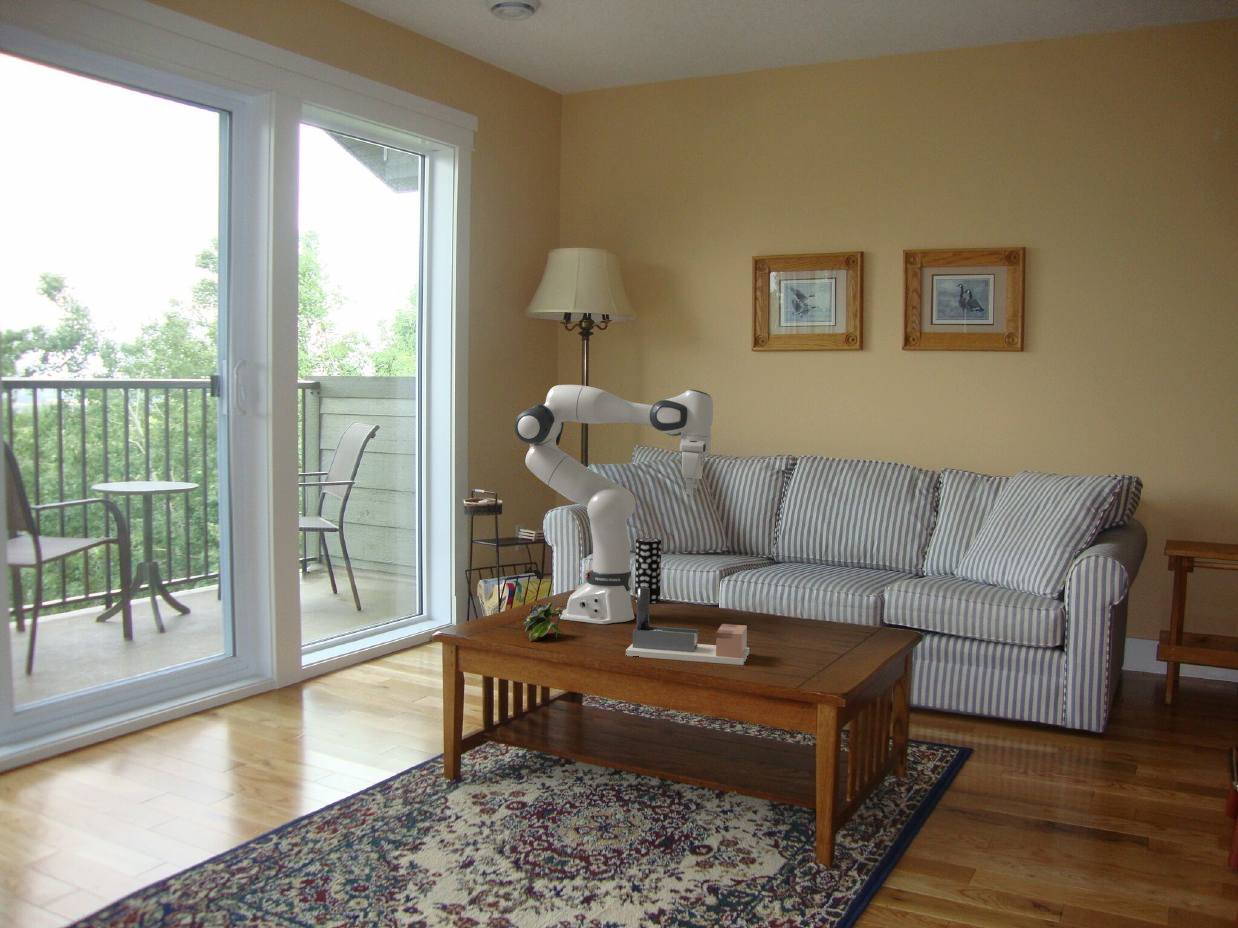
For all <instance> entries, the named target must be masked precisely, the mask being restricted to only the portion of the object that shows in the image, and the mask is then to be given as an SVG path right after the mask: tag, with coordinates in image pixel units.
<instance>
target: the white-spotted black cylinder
mask: <svg viewBox="0 0 1238 928" xmlns="http://www.w3.org/2000/svg"><path fill="white" fill-rule="evenodd" d="M634 557H635V559H634V560H635V563H634V565H635V566H634V568H635V570H634V571H635V572H634V602H635V601H636V602H635V603H637V588H639V587H647V588H650V593H649V603H654V604H658V603H661V592H662V591H661V590H662V589H661V587H662V586H661V580H662V579H661V578H662V577H661V576H662V575H661V574H662V539H659V538H654V537H653V538H652V537H651V538H647V537H646V538H645V537H644V538H643V537H642V538H641V537H640V538H636V539H635V556H634Z"/></svg>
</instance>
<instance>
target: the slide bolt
mask: <svg viewBox="0 0 1238 928" xmlns="http://www.w3.org/2000/svg"><path fill="white" fill-rule="evenodd" d="M649 593H650V588H647V587H639V588H637V602H636V629H638V630H649V626H650V604H649ZM652 631H658V630H652ZM666 632H672V631H666ZM680 633H686V632H680ZM694 634H695V643H694V646H696V643H697V633H694Z"/></svg>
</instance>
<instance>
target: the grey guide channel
mask: <svg viewBox="0 0 1238 928" xmlns="http://www.w3.org/2000/svg"><path fill="white" fill-rule="evenodd" d="M652 630H658V631H652ZM666 631H672V632H666ZM680 632H686V633H680ZM694 633H697V643H696V646H694V643H695V634H694ZM698 639H699V629H697V628H695V629H694V628H683V627H669V626H667V627H666V626H657V625H656V626H654V625H649V630H638V629H637V628H633V629H632V643H633V648H646V649H659V650H672V651H685V652H694V651H695V650H696V648H697V647H698V644H699V643H698V642H699V640H698Z"/></svg>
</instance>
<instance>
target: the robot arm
mask: <svg viewBox="0 0 1238 928" xmlns="http://www.w3.org/2000/svg"><path fill="white" fill-rule="evenodd" d="M713 420H714V401H713V398H712V397H711V395H710V394H708V393H707V392H703V391H702V390H701V391H700V390H697V389H687V390H686V391H684V392H683V393H681V394H678V395H676V396H673V397H670V398H666V399H661V400H658V401H656V402H654V404H652V405H651V404H645V403H641V402H640V403H639V402H632V401H629V400H626V399H623V398H621V397H620V396H617V395H615V394H614V393H611V392H609V391H606V390H603V389H600V388H598V387H594V386H593V387H592V386H588V385H581V384H558V385H554V386H553V387H551V388H550V389H549V391H548V392H547V394H546V398H545V403H544V404H542V403H540V404H537V405H534V406H532V407H529V408H527V409H525V410H523V411H522V412H521V413H519V414H518V416H517V417H516V419H515V422H514V432H515V434H516V436H517V438H518V439H519V440H520V441H521V442H523V443H524V444H527V445H529V449H528V451H527V453H526V455H525V461H524V462H525V466H526V468H527V469H528V470H529V471H530V473H532V474H533V475H534V476H535V477H536V478H537V479H539V480H540V481H541V482H542V483H544V484H545V485H547V486H548V487H550V488H551V489H552V490H554V491H555V492H557V493H558V494H560V495H561V496H563V497H564V498H566V499H567V500H568V501H571V502H574V503H575V504H578V505H580V506H583V507H584V508H586V511H587V516H588V517H589V527H590V532H591V533H590V534H591V537H592V539H591V540H592V568H591V569H588V570H589V571H588V573H587V574H586V577H585V578H586V581H587V583H586V584H584V585H583V586H582V587H580V588H579V589H578V590H576V589H575V590H574V592H573V593H571V594H570V596H569V598H568V600H567V603H566V608H565V609H562V611H563V612H562V615H561V617H560V620H566V621H572V622H573V621H574V622H582V623H590V624H599V625H608V624H613V623H624V622H629V621H632V620H634V619H635V614H634V610H633V606H632V605H633V603H632V596H631V590H632V571H631V543H630V540H629V536H628V528H627V520H628V519H629V518H631V517H632V515H633V513H634V511H635V509H636V498H635V495H634V494H633V493H632V492H631V491H630V490H629V489H628V488H625V487H623V486H621V485H620V484H618V483H617V482H615V481H614V480H611V479H609V478H608V477H606V476H603V475H602V474H599V473H598V472H595V471H594V470H592V469H591V468H589V467H588V466H586V465H584V464H582V463H581V462H580V461H578V460H576V458H574V457H572V456H571V455H569V454H568V453H566V452H564V451H563V450H562V449H560V448H559V446H558V445H559V444H560V441H561V436H562V434H563V431H564V425H565V423H564V422H575V423H580V424H581V423H582V424H589V425H590V424H591V425H593V424H595V425H598V424H600V425H601V424H615V423H628V424H635V425H640V426H647V427H653V428H654V429H656V430H657V431H659V432H662V433H664V434H666V435H668V436H672V437H678V436H680V439H679V440H680V441H679V452H682V453H681V455H682V456H681V469H682V470H681V472H682V473H681V474H682V477H683V478H685V494H686V495H697V488H698V485H699V480H702V478H703V471H704V470H703V469H704V460H705V459H706V454H710V453H711V444H712V433H711V431H712V430H711V428H712V425H713ZM559 616H560V614H559ZM559 616H558V617H559Z"/></svg>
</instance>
